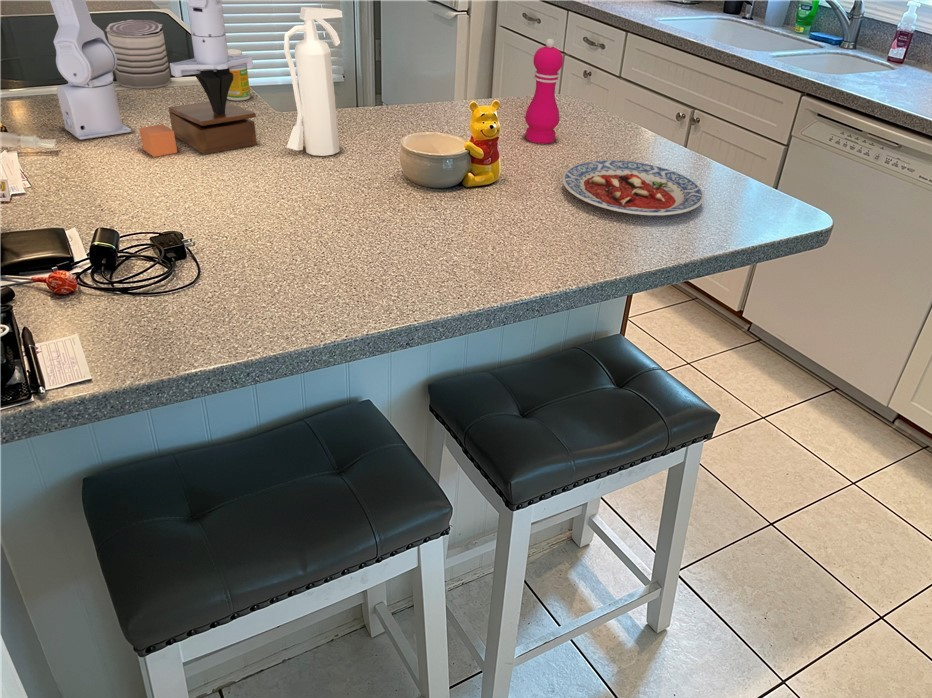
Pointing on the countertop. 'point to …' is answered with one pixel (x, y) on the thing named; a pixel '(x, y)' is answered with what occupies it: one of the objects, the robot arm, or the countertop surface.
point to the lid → (211, 113)
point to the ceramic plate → (633, 187)
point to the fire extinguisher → (314, 84)
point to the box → (214, 134)
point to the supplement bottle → (238, 81)
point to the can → (139, 54)
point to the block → (158, 140)
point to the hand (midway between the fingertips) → (219, 112)
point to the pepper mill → (544, 95)
